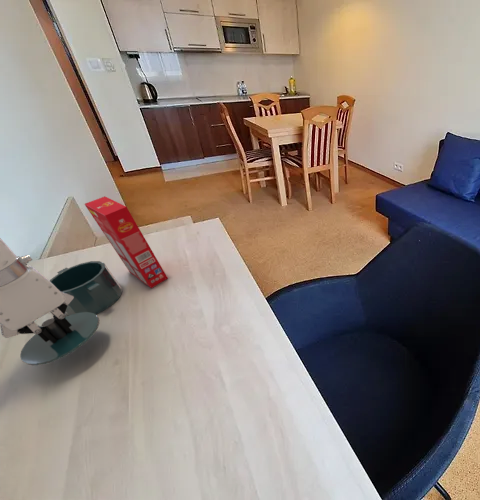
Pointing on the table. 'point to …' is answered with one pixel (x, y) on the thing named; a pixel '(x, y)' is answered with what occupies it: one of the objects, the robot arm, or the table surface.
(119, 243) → the food packaging
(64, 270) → the pot
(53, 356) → the lid
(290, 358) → the table surface
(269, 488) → the table surface
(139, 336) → the table surface
